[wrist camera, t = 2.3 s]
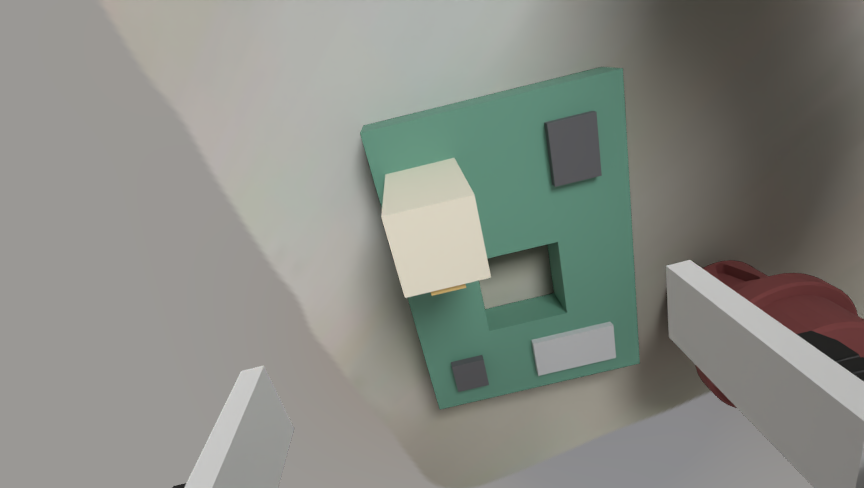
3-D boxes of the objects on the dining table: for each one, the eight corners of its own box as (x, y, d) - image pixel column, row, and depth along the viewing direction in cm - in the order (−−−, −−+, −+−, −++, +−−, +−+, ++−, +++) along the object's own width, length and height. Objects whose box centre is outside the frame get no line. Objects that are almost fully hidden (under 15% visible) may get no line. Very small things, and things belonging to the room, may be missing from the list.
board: (363, 125, 30) (359, 134, 27) (601, 66, 30) (627, 68, 26) (436, 384, 39) (440, 415, 35) (622, 340, 38) (643, 368, 35)
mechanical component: (619, 296, 37) (723, 208, 34) (688, 362, 40) (787, 285, 37) (719, 405, 25) (885, 284, 23) (805, 486, 28) (959, 387, 26)
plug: (385, 174, 28) (381, 217, 21) (454, 157, 28) (474, 194, 21) (404, 243, 30) (406, 304, 23) (469, 227, 30) (492, 284, 23)
